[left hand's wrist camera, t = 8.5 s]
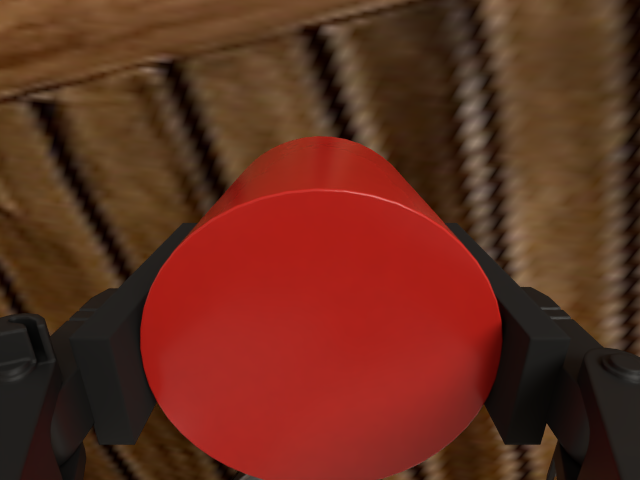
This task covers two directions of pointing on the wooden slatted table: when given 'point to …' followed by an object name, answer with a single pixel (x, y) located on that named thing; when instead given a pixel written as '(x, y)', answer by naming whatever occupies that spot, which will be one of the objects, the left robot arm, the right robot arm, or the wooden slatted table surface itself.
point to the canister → (321, 321)
